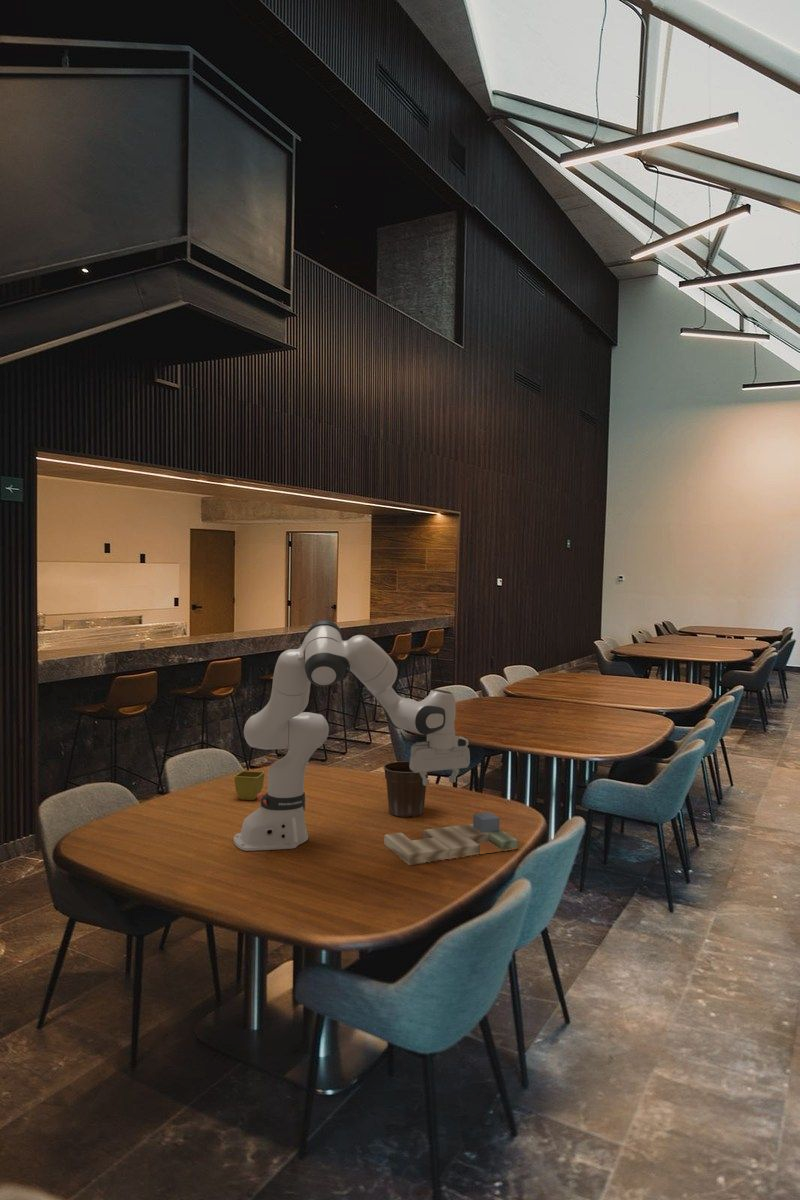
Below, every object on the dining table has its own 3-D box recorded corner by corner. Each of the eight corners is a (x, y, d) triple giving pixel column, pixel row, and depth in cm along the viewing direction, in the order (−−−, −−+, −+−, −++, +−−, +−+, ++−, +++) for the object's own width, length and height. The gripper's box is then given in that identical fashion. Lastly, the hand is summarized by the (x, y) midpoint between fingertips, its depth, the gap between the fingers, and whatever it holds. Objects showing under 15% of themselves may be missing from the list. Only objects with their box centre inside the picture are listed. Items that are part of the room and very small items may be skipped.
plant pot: (374, 815, 260) (375, 768, 259) (392, 803, 275) (393, 758, 274) (419, 822, 254) (420, 774, 253) (435, 809, 269) (436, 763, 268)
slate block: (482, 832, 235) (482, 819, 235) (473, 826, 241) (473, 814, 241) (499, 830, 238) (499, 817, 238) (489, 824, 243) (490, 812, 243)
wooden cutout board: (408, 865, 215) (408, 854, 215) (384, 844, 232) (384, 834, 232) (517, 849, 230) (517, 839, 229) (487, 831, 246) (487, 821, 246)
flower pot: (241, 794, 281) (242, 770, 281) (264, 795, 280) (265, 771, 280) (233, 801, 273) (233, 776, 272) (256, 802, 272) (257, 777, 271)
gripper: (415, 745, 234) (414, 789, 234) (473, 740, 242) (471, 783, 243) (406, 740, 239) (405, 784, 240) (463, 736, 248) (461, 778, 249)
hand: (439, 783), depth 241 cm, fingers open, 8 cm apart
